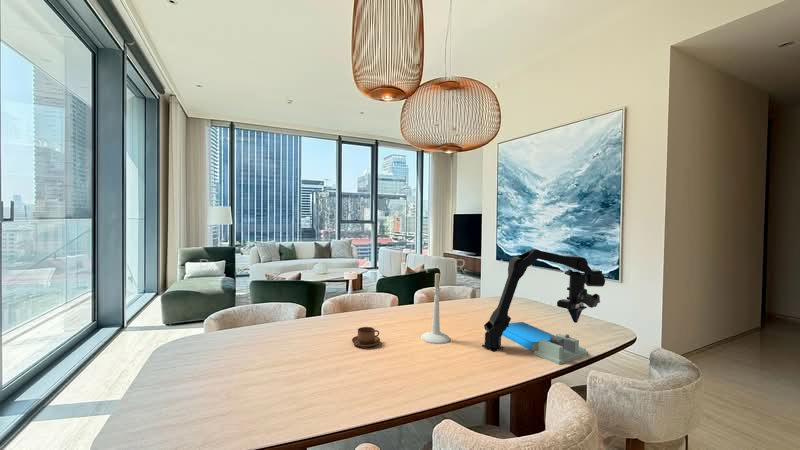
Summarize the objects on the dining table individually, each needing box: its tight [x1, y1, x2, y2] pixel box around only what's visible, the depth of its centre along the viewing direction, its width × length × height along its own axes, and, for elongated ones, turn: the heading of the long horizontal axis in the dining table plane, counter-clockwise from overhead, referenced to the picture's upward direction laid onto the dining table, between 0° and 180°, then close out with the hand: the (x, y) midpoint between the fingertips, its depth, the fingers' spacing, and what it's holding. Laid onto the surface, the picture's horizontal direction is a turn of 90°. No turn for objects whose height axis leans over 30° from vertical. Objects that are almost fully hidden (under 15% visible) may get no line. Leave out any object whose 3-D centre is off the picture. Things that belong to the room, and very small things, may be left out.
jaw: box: [555, 333, 580, 353], centre depth 140 cm, size 3×9×6 cm, turn 32°
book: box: [502, 321, 556, 352], centre depth 156 cm, size 17×4×25 cm
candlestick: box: [420, 272, 451, 345], centre depth 152 cm, size 13×13×30 cm
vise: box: [533, 339, 589, 365], centre depth 138 cm, size 20×11×6 cm, turn 122°
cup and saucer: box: [351, 326, 381, 348], centre depth 144 cm, size 12×12×6 cm
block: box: [550, 335, 564, 351], centre depth 137 cm, size 3×4×6 cm
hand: (575, 322), depth 143 cm, fingers closed
